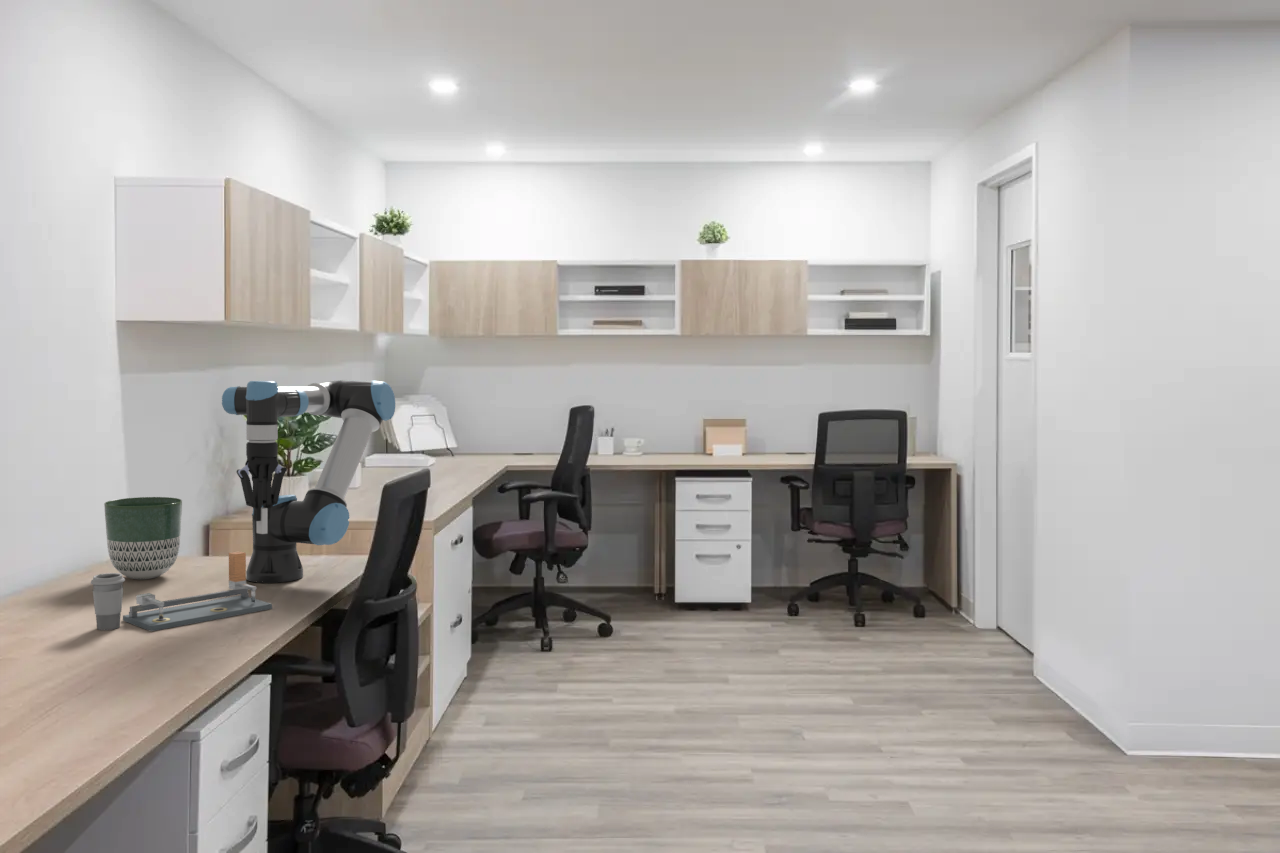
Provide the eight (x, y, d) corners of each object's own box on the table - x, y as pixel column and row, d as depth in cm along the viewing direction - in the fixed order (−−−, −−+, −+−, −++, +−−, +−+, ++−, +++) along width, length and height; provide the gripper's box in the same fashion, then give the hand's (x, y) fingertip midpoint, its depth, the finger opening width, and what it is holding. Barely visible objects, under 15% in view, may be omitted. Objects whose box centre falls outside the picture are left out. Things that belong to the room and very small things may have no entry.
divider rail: (243, 596, 266) (243, 577, 265) (264, 602, 260) (263, 583, 259) (127, 616, 243) (127, 596, 243) (146, 623, 237) (146, 603, 237)
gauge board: (242, 599, 267) (242, 594, 267) (272, 608, 258) (272, 603, 258) (122, 620, 244) (122, 615, 244) (151, 631, 235) (150, 625, 235)
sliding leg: (239, 595, 265) (239, 551, 264) (259, 601, 259) (259, 556, 258) (228, 597, 262) (228, 552, 262) (248, 603, 256) (248, 557, 256)
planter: (175, 584, 283) (174, 505, 282) (97, 586, 279) (96, 507, 277) (188, 569, 302) (187, 496, 301) (115, 571, 297) (114, 497, 296)
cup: (113, 622, 242) (112, 571, 241) (132, 626, 239) (131, 574, 238) (84, 629, 236) (83, 576, 235) (103, 633, 233) (102, 580, 232)
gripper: (277, 439, 273) (277, 528, 274) (230, 441, 263) (230, 534, 264) (293, 441, 268) (292, 532, 269) (246, 443, 258) (246, 537, 259)
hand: (261, 533), depth 267 cm, fingers closed
